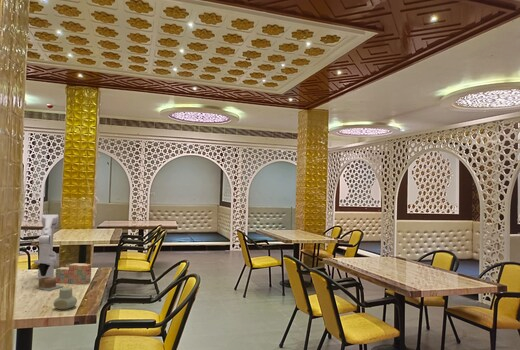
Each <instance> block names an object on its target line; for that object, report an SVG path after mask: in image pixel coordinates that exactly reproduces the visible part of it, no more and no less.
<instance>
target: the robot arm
mask: <svg viewBox="0 0 520 350" xmlns="http://www.w3.org/2000/svg"><path fill="white" fill-rule="evenodd" d="M59 217H60V216H59V214H42V215H41V225H42V227H43V228H41V229H42V230H41V233H40V235H39V237H38V247H39V252H38V253H39V254H38V259H35V260H34V261H33V262H34V263H33V264H36V265H37V264H38V265H37V267H38V268H37V269H38V271H37V272H38V273H37V278H36V279H37V280H39V278H44V277H49V278H55V277H56V276H55V275H54V273H55V272H54V271H55V265H56V264H57V261H58V257H57V252H55V251H53V247H54V234H55V233H54V232H55V228H56V227H58V226H59Z"/></svg>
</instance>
